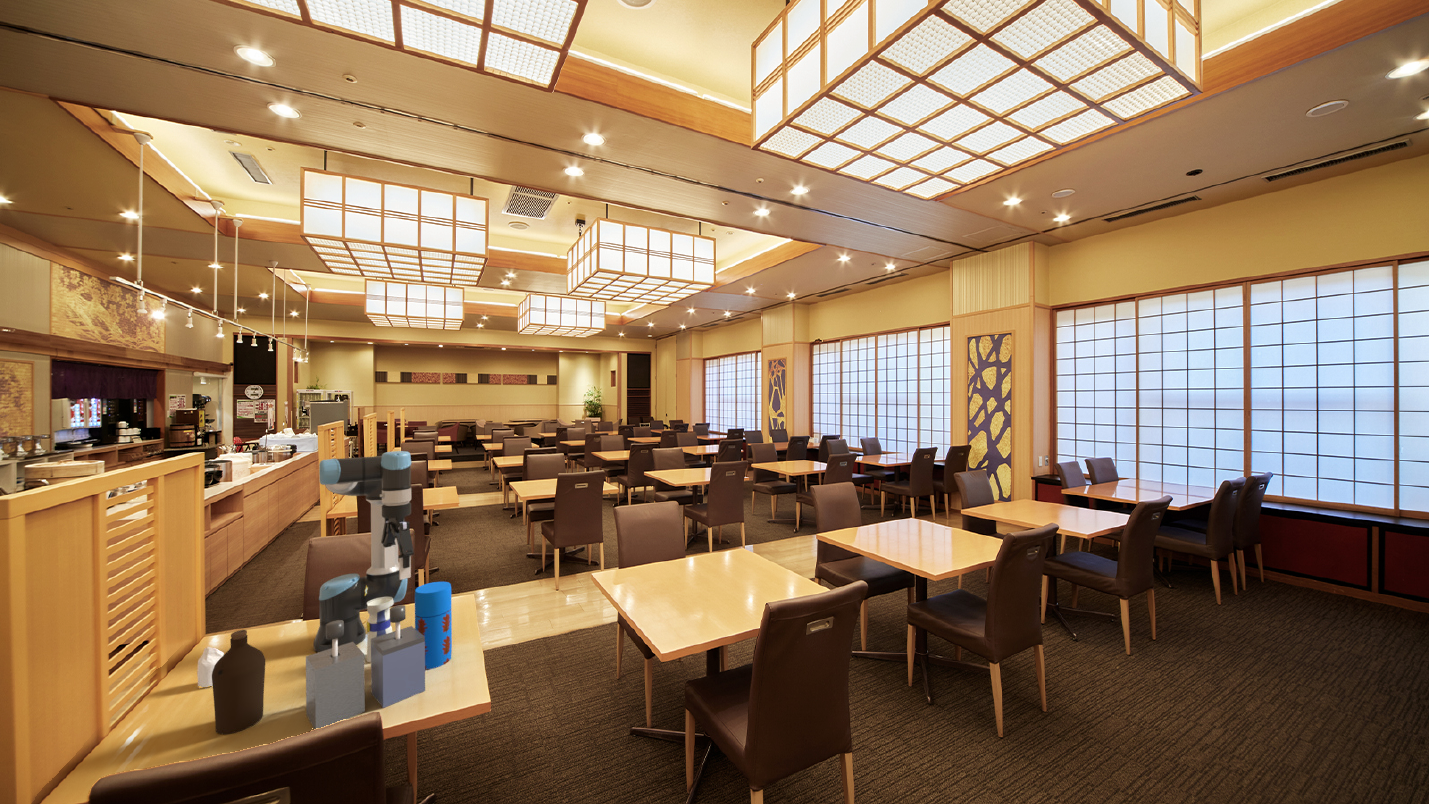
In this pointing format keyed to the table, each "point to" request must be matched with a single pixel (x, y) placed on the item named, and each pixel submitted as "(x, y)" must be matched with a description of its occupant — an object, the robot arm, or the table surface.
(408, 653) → the indigo press
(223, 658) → the olive oil
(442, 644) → the thermos
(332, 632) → the steel plunger
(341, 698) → the block
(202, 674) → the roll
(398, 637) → the gray knob plunger
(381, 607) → the water bottle
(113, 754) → the table surface
